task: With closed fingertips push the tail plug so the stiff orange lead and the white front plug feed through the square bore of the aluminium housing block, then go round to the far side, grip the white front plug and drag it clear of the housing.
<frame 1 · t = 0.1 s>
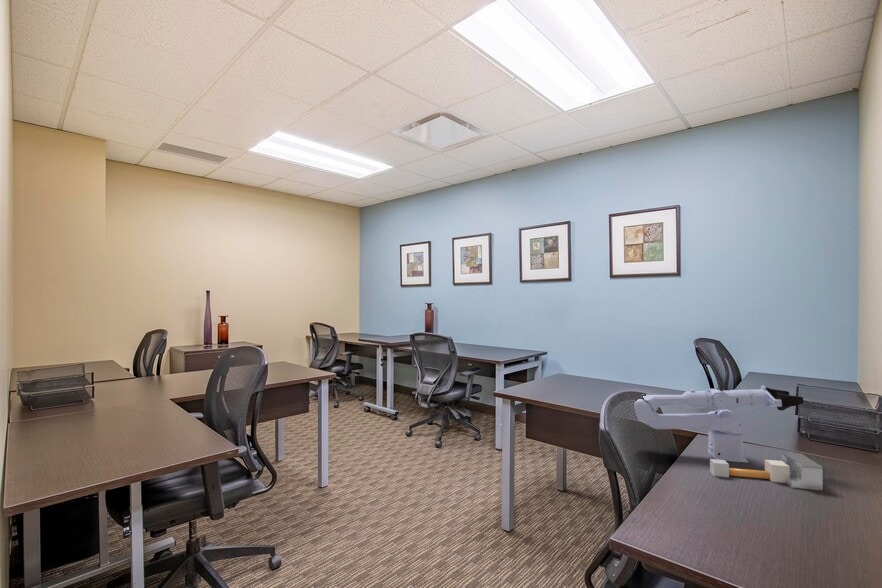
hand: (795, 397, 136), 21 cm above the table, fingers open, 7 cm apart
housing: (801, 481, 122), on the table
plug: (776, 479, 124), on the table
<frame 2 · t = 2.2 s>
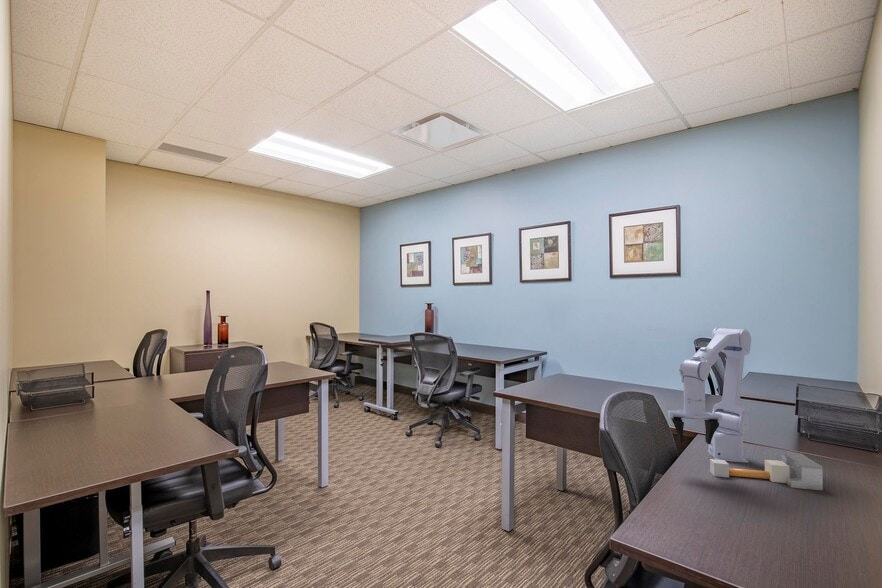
hand: (694, 442, 129), 9 cm above the table, fingers open, 7 cm apart
nothing on the table moved.
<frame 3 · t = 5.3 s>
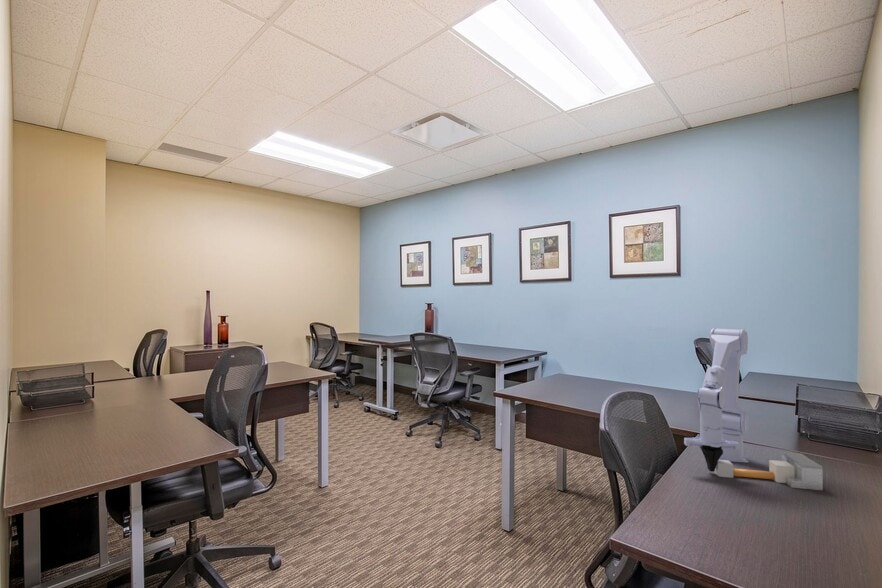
hand: (711, 470, 128), 1 cm above the table, fingers closed
plug: (781, 480, 123), on the table, touching gripper
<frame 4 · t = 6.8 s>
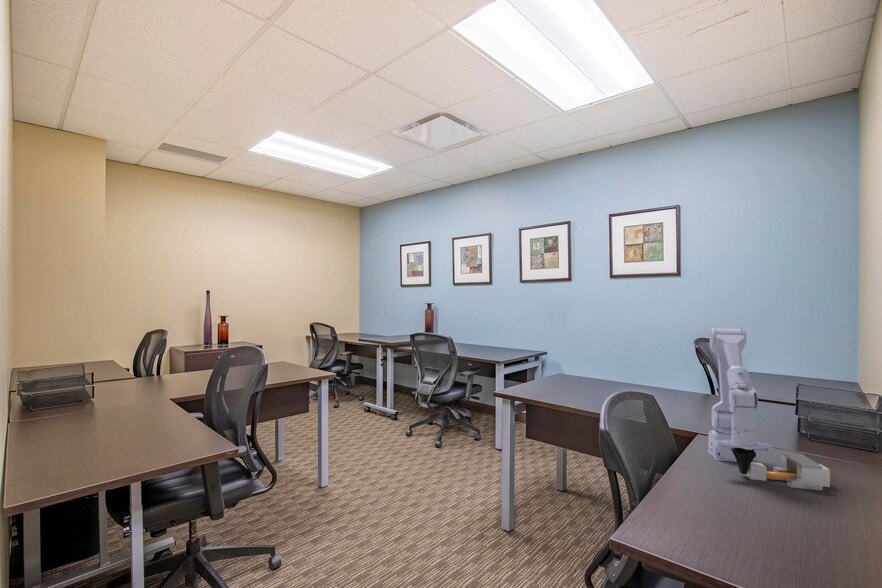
hand: (743, 472, 126), 1 cm above the table, fingers closed
plug: (816, 483, 121), on the table, touching gripper
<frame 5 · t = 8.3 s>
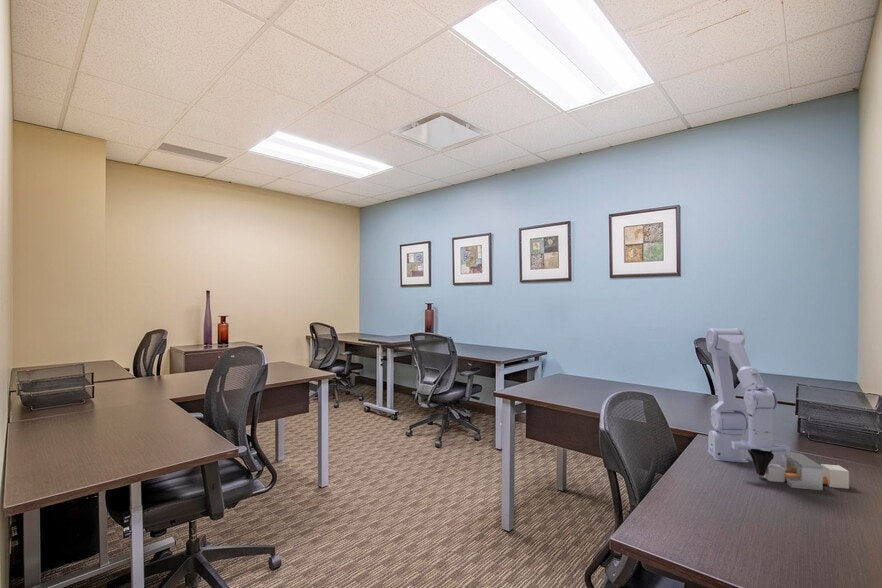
hand: (760, 474, 125), 1 cm above the table, fingers closed
plug: (834, 484, 120), on the table, touching gripper
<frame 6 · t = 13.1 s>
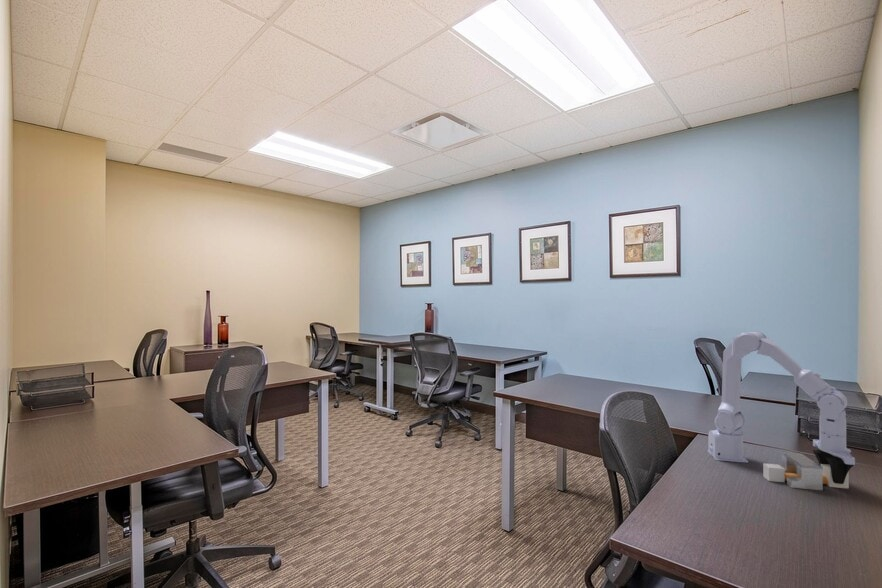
hand: (832, 479, 120), 1 cm above the table, fingers closed on plug, 4 cm apart
plug: (834, 484, 120), on the table, touching gripper
when the fingers open (2 cm above the table, at t = 15.2 s): plug stays where it is, on the table.
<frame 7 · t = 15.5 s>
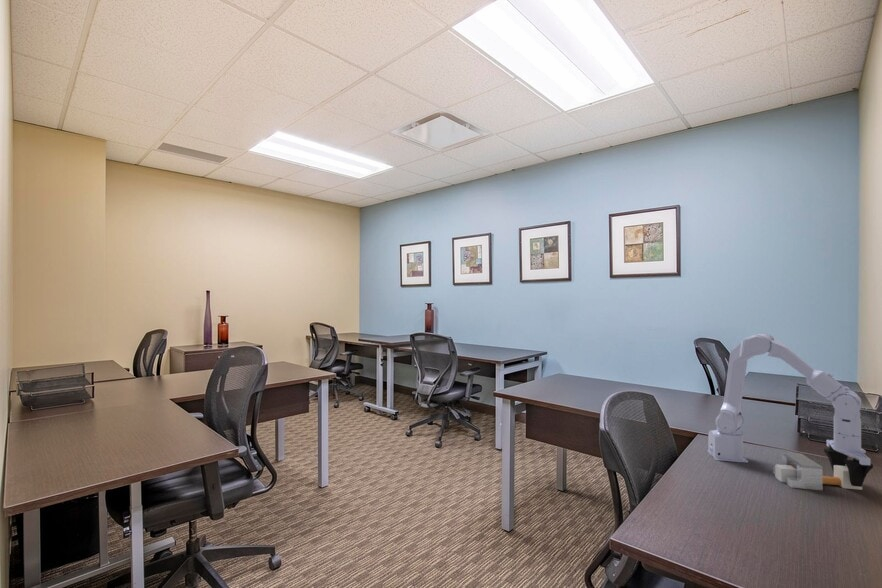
hand: (847, 480, 120), 2 cm above the table, fingers open, 7 cm apart
plug: (847, 485, 120), on the table
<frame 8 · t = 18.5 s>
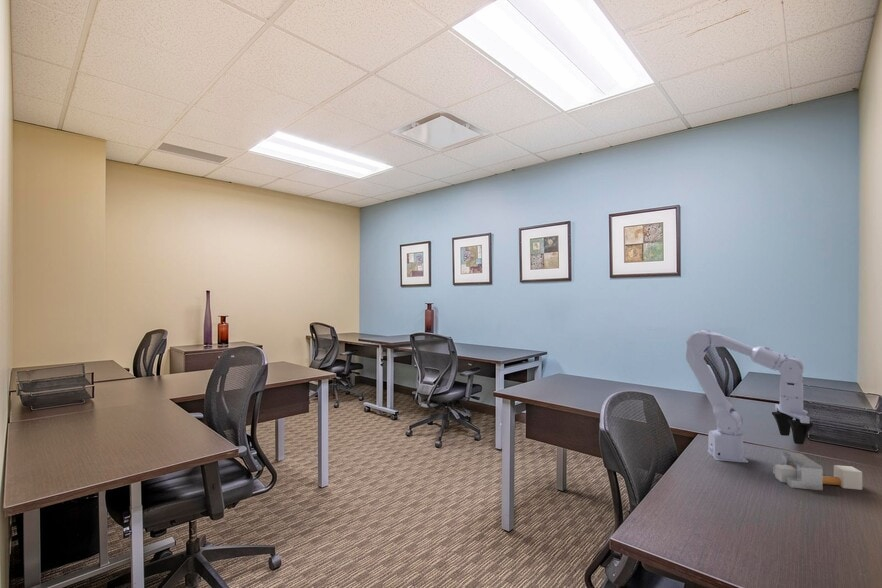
hand: (791, 439, 130), 10 cm above the table, fingers open, 7 cm apart
nothing on the table moved.
at the end: plug 0.8 cm from the target spot, on the table; plug tilted 0°; the gripper is holding nothing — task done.
